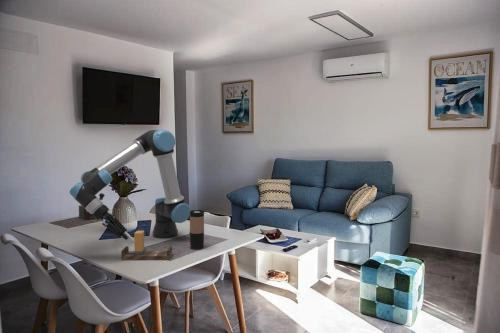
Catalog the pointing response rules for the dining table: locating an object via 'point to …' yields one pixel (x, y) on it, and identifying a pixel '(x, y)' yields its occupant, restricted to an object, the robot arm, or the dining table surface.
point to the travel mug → (197, 229)
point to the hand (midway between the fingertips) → (132, 242)
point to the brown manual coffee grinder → (83, 212)
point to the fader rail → (146, 255)
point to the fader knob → (139, 243)
